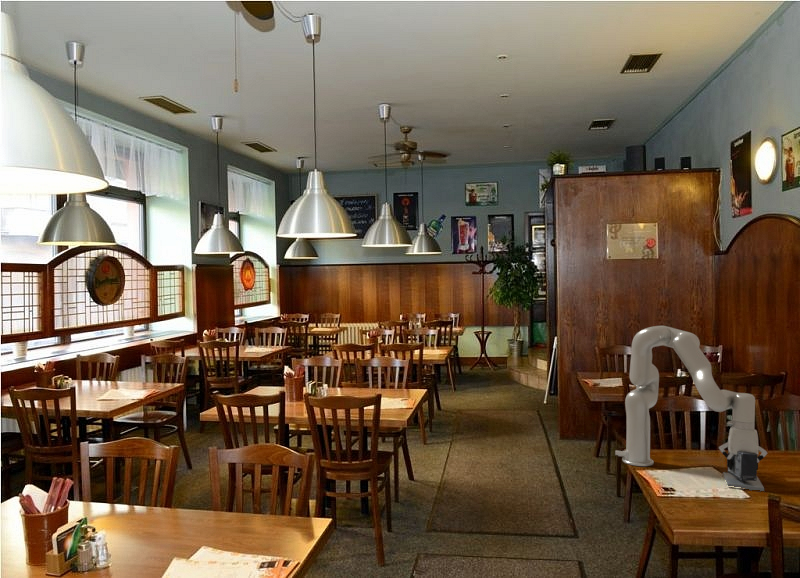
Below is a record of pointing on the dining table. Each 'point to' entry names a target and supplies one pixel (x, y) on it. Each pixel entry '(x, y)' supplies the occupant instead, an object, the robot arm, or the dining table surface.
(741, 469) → the small box
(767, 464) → the dining table surface
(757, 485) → the slate board
